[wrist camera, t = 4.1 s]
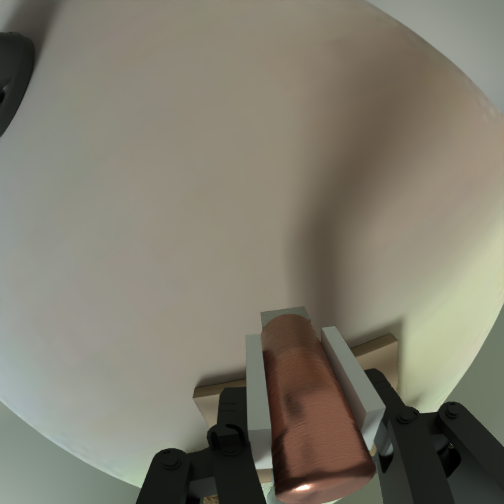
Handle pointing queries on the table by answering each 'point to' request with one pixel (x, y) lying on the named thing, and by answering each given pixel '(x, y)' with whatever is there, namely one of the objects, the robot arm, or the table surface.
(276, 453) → the lever
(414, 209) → the table surface
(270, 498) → the bottle
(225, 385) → the square wooden tray
